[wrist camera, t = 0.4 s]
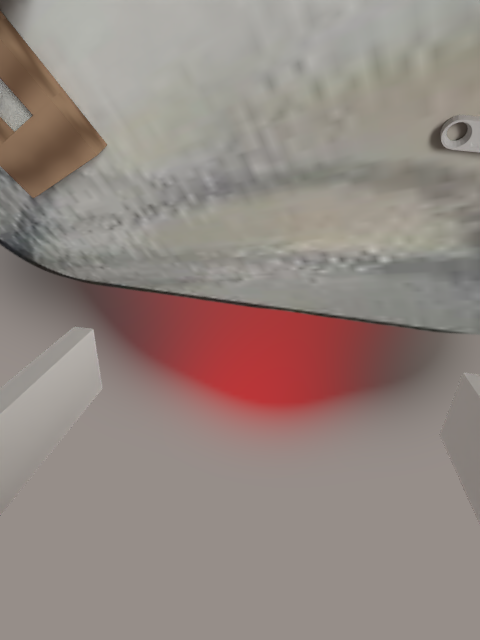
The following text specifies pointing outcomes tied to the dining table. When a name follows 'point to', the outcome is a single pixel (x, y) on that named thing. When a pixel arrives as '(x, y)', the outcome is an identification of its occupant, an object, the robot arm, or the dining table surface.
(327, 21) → the dining table surface
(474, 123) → the adjustable wrench
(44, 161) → the walnut board
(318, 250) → the dining table surface
